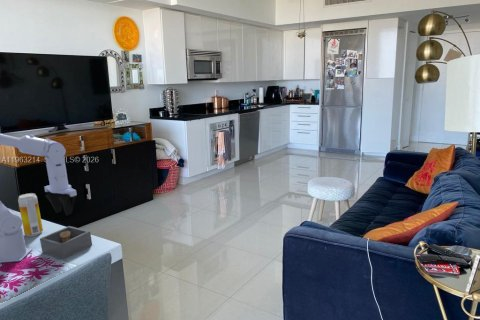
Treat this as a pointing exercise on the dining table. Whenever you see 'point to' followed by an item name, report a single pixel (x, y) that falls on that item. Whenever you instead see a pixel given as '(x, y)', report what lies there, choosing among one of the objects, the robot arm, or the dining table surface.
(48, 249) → the grey square open box
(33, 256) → the dining table surface
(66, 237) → the plunger
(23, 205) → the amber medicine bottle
